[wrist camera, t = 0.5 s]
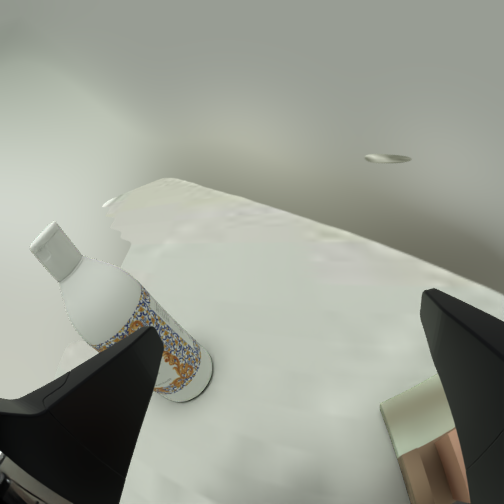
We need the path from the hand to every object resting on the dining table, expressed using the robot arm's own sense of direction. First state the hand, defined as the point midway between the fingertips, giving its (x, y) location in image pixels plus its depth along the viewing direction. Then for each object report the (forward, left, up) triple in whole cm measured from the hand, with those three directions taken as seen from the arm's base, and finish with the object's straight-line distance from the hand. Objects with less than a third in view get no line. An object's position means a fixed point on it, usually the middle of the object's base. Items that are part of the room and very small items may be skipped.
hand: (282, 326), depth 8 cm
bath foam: (+10, +14, -15) cm, 23 cm away
